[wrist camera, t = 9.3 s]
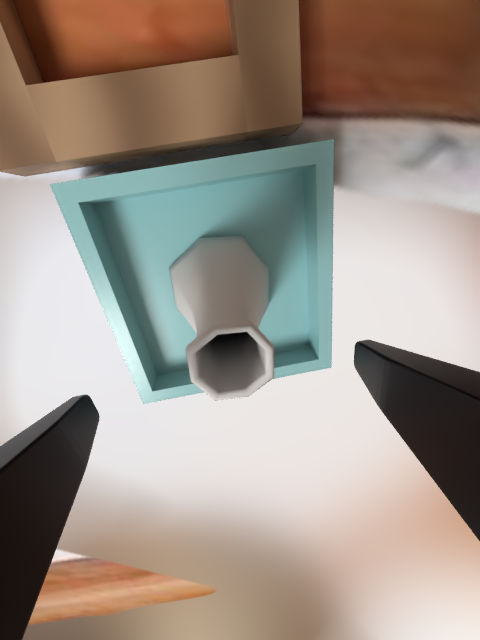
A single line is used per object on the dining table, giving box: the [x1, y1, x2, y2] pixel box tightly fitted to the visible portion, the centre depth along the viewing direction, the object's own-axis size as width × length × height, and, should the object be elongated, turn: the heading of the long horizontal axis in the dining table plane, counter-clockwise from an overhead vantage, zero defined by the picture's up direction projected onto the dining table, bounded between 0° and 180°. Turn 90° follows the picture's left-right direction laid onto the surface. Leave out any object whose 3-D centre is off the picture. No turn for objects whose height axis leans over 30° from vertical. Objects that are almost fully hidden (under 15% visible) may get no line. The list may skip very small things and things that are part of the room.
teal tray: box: [50, 139, 334, 404], centre depth 17 cm, size 15×15×2 cm
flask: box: [169, 235, 274, 401], centre depth 13 cm, size 7×7×10 cm
